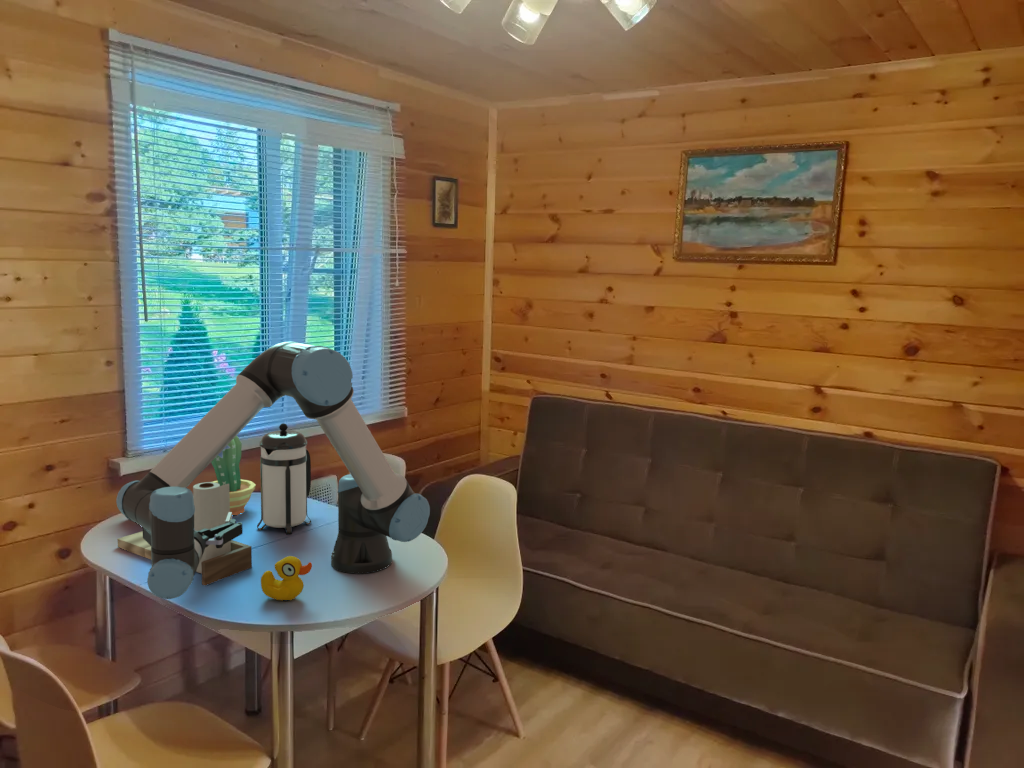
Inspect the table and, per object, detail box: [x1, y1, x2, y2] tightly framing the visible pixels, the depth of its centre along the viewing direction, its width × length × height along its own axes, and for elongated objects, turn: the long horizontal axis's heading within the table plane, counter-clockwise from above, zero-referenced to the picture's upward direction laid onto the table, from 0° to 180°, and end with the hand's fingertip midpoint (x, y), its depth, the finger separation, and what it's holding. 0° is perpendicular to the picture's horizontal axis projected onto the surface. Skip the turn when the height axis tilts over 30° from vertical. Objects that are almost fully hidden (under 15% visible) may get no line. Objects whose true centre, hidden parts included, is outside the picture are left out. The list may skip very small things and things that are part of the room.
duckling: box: [260, 555, 313, 601], centre depth 174 cm, size 11×5×10 cm, turn 89°
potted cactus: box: [210, 434, 257, 516], centre depth 230 cm, size 15×15×25 cm
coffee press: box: [256, 422, 312, 536], centre depth 220 cm, size 17×16×30 cm
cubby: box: [201, 539, 253, 587], centre depth 188 cm, size 13×13×6 cm
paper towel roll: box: [192, 481, 231, 574], centre depth 187 cm, size 7×6×21 cm
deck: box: [117, 530, 152, 561], centre depth 202 cm, size 20×15×2 cm
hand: (198, 518), depth 176 cm, fingers open, 13 cm apart
